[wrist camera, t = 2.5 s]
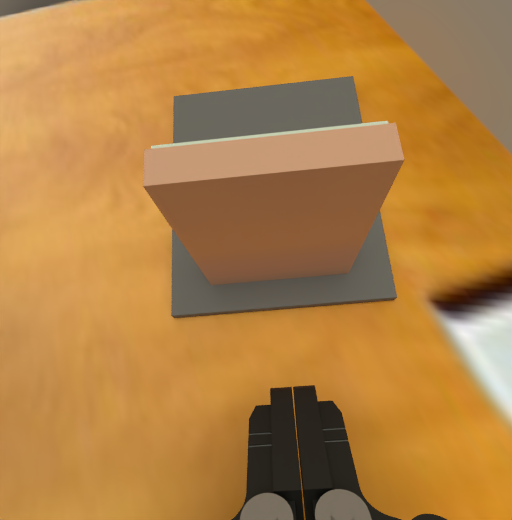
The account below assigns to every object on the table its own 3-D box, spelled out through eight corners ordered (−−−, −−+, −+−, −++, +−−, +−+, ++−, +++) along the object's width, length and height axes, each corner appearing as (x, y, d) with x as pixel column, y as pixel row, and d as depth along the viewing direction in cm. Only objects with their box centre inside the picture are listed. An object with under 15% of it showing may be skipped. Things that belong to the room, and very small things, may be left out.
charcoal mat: (393, 299, 27) (396, 297, 27) (174, 318, 28) (171, 315, 27) (351, 83, 34) (353, 76, 33) (176, 102, 35) (173, 96, 34)
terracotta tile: (348, 273, 27) (404, 159, 14) (211, 285, 28) (143, 186, 15) (344, 247, 28) (394, 116, 15) (210, 259, 29) (144, 143, 15)
